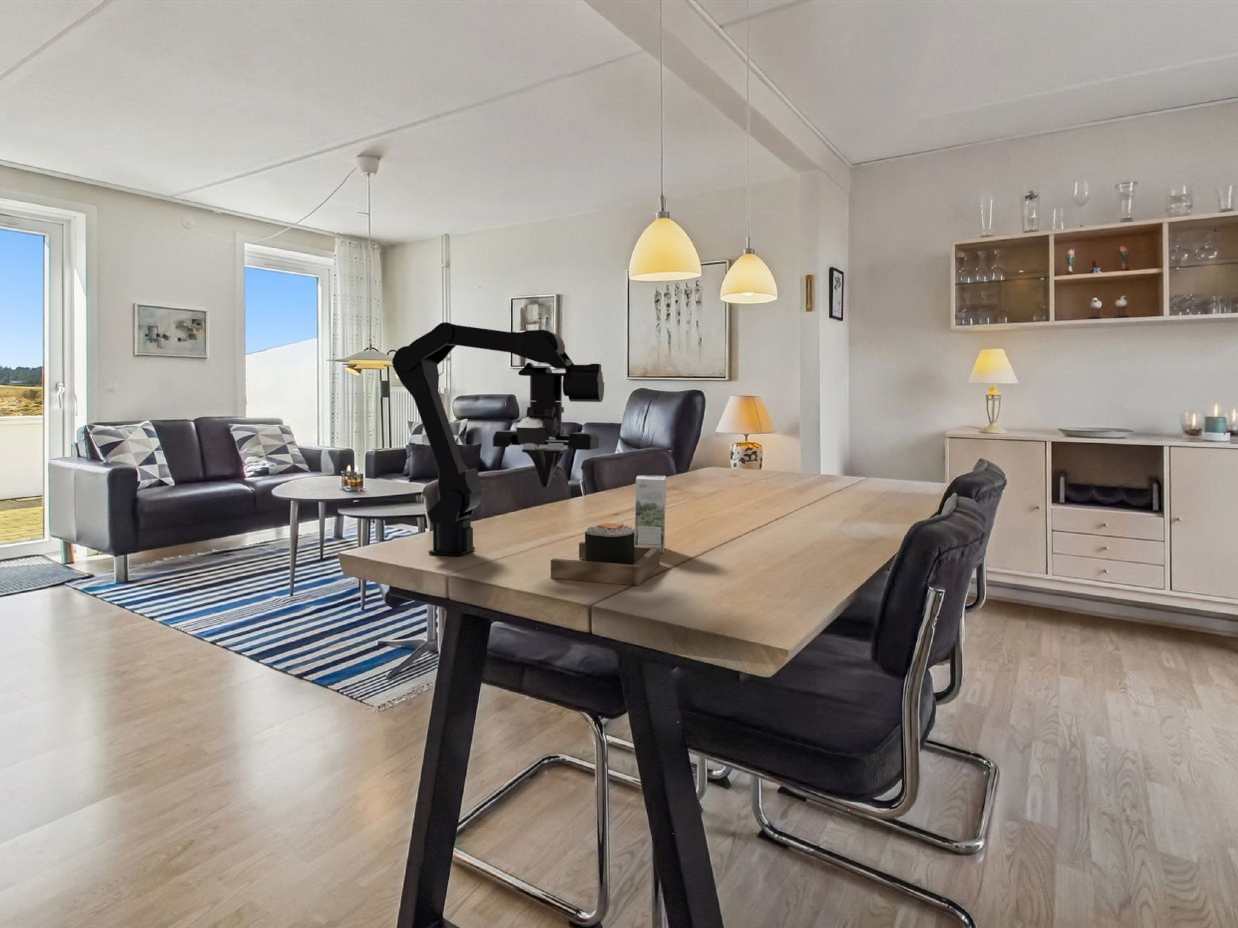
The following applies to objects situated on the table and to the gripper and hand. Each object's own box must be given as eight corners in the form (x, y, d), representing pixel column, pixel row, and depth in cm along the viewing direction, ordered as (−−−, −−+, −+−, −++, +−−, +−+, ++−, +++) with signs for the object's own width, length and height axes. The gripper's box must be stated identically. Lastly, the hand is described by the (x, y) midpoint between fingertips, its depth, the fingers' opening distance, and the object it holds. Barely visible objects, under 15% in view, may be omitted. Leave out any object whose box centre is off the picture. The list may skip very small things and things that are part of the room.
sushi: (577, 573, 118) (578, 526, 117) (599, 563, 125) (600, 519, 125) (621, 579, 114) (622, 531, 114) (641, 568, 122) (642, 523, 121)
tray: (550, 578, 114) (550, 560, 114) (581, 557, 129) (581, 541, 129) (638, 585, 110) (638, 567, 110) (659, 563, 125) (659, 547, 125)
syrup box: (665, 547, 139) (666, 474, 138) (664, 554, 133) (665, 478, 132) (636, 546, 139) (637, 474, 138) (634, 553, 134) (635, 477, 132)
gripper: (478, 400, 121) (478, 490, 123) (580, 402, 116) (579, 495, 118) (505, 400, 132) (505, 483, 133) (600, 402, 127) (599, 487, 129)
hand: (545, 487), depth 128 cm, fingers closed
